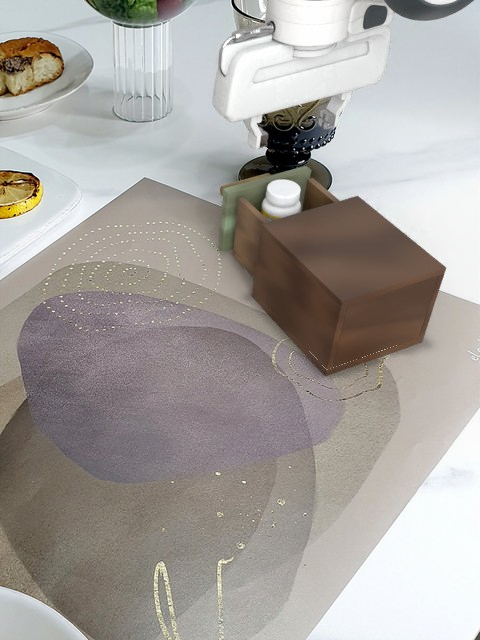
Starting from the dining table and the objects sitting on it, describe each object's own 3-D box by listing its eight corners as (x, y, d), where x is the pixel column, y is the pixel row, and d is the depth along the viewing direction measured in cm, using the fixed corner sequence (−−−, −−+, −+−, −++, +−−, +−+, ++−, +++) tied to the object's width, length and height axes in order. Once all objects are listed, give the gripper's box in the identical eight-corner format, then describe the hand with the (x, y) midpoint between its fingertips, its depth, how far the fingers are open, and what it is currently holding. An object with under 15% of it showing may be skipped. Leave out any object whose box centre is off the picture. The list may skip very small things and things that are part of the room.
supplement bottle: (263, 231, 111) (271, 174, 105) (299, 239, 110) (308, 181, 104) (251, 251, 108) (258, 193, 102) (288, 260, 107) (297, 201, 101)
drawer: (200, 229, 114) (204, 170, 108) (277, 207, 117) (285, 148, 111) (278, 312, 101) (288, 251, 95) (362, 285, 104) (377, 224, 98)
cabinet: (251, 296, 105) (261, 223, 97) (341, 268, 108) (357, 195, 101) (325, 376, 95) (342, 301, 87) (422, 342, 98) (446, 267, 90)
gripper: (237, 45, 84) (227, 171, 94) (409, 3, 89) (382, 127, 99) (205, 23, 88) (199, 146, 98) (371, -16, 93) (349, 104, 103)
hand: (292, 136), depth 98 cm, fingers open, 8 cm apart
